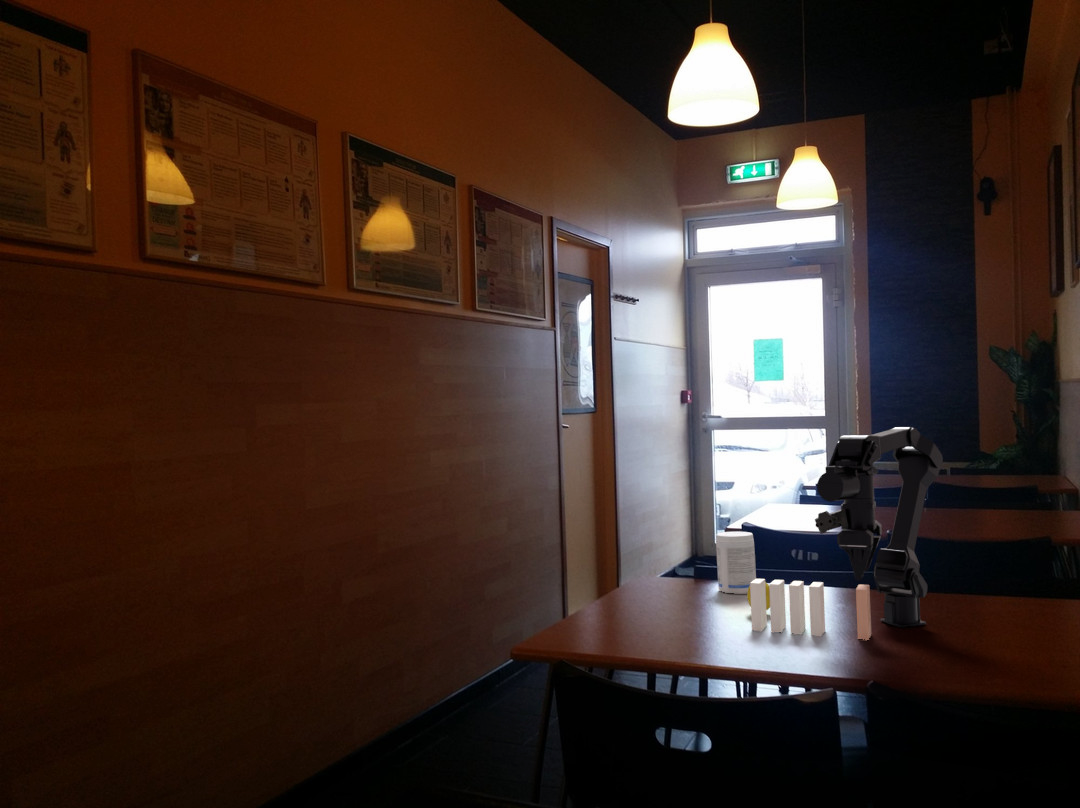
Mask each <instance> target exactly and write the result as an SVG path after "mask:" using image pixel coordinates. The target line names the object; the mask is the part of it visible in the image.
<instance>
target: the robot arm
mask: <svg viewBox="0 0 1080 808" xmlns="http://www.w3.org/2000/svg"><path fill="white" fill-rule="evenodd" d="M892 451H893V452H892ZM889 452H892V456H893V459H894V460H895V461H896V462H897V465H898V466H897V471H898V473H899V475H900V478H901V480H902V484H901V485H902V486H901V489H900V490H901V491H900V495H899V499H898V505H897V510H896V514H895V517H894V524H893V528H892V532H891V538H890V542H889V544H888V546H886V547H885V548H879V550H878V551H877V547H878V545H879V542H880V540H881V538H882V537H881V535H882V534H883V531H882V530H883V529H882V527H883V526H882V523H880V522H879V521H878V520H877V519H876V512H875V511H876V510H875V508H876V507H877V502H876V501H875V485H874V481H875V480H874V475H876V474H878V473H879V470H878V469H877V468H876V467H875V466H874V465H873V464H874V463H875V462H877V461H879V460H880V459H881V458H882V455H883V454H885V453H889ZM943 460H944V457H943V455H942V453H941V451H940V450H939V448H938V447H937V445H936V444H935V443H934V442H933V441H932V440H930V439H928V438H927V437H925V436H923V435H922V434H921V433H920V431H918V428H916V427H915V428H914V427H912V426H896V427H893V428H891V429H888V430H885V431H881V432H877V433H874V434H868V435H866V434H865V435H864V434H863V435H861V434H860V435H859V434H858V435H854V434H853V435H849V434H848V435H846V434H845V435H841V436H840V437H839V439H838V441H837V443H836V445H835V448H834V449H833V453H832V456H831V458H830V461H829V463H828V466H825V472H824V473H823V474H821V475H820V476H819V478H818V481H817V483H816V489H817V492H818V495H819V496H820V497H821V498H822V499H823V500H824V501H826V502H829V503H830V502H838V501H843V502H842V504H841V505H840V509H839V510H836V511H833V512H829V511H827V510H825V511H823V512H819V513H818V516H817V517H816V518H815V519H814V522H815V527H816V528H817V529H818V532H819V534H821V535H824V534H826V533H827V532H829V531H832V530H835V529H837V528H840V529H841V531H839V533H838V534H837V535H836V537H837V538H836V540H837V541H836V542H837V543H836V544H837V545H838V547H839V548H840V549H842V551H844V552H846V553H847V554H848V558H849V561H850V564H851V569H852V571H853V575H854V579H855V580H857V581H861V580H863V577H864V573H867V572H869V569H870V566H871V563H872V561H873V558H874V555H875V554H877V555H876V560H875V563H874V564H873V566H874V568H873V578H874V583H875V586H876V591H877V593H878V594H884V601H883V616H884V618H880V622H882V623H885V624H889V625H891V626H894V627H898V628H908V627H907V626H910V627H917V625H918V626H922V625H923V626H924V625H927V623H926V621H924V620H921V605H920V603H921V602H920V598H921V599H923V598H925V597H926V596H927V592H928V583H927V582H926V580H925V579H924V577H923V576H922V575H921V573H920V566H921V565H920V563H919V562H920V561H919V560H918V557H917V555H916V553H915V550H916V549H915V548H916V544H917V538H918V534H919V529H920V524H921V521H922V520H921V518H922V514H923V508H924V505H925V500H926V495H927V490H928V488H929V487H930V486H931V485H932V484H933V483H934V481H936V480H937V479H938V477H939V473H940V469H941V467H943V462H944V461H943ZM874 534H877V535H874ZM876 551H877V553H875V552H876Z"/></svg>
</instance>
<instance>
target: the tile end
mask: <svg viewBox="0 0 1080 808" xmlns="http://www.w3.org/2000/svg"><path fill="white" fill-rule="evenodd" d="M765 582H766V579H765V578H756V579H755V580H753V581H752V582H751V583H750V594H751V607H750V614H751V617H750V618H751V631H752V630H754V631H755V632H763V630H765V628H766V627H767V626H768V621H767V620H768V617H767V616H768V615H767V614H768V613H767V610H766V587H765ZM766 625H767V626H766ZM754 631H753V632H754Z"/></svg>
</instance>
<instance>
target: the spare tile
mask: <svg viewBox="0 0 1080 808" xmlns="http://www.w3.org/2000/svg"><path fill="white" fill-rule="evenodd" d="M870 590H871V589H870V585H869V584H858V585H857V587H856V588H855V596H856V597H855V598H856V599H855V602H856V624H857V625H856V626H857V640H858V639H863V640H862V641H867V640H869V641H870V639H869V638H871V636H872V618H871V594H870ZM864 639H865V640H864Z"/></svg>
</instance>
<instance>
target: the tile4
mask: <svg viewBox="0 0 1080 808" xmlns="http://www.w3.org/2000/svg"><path fill="white" fill-rule="evenodd" d="M768 585H769V589H770V608H769V611H770V612H769V614H770V632H771V631H772V632H771V633H774V632H781V633H783V631H784V630H785V629H786V628H787V619H786V618H787V617H786V597H785V596H786V593H785V580H784V579H774V580H772V581H771V582H770V583H768ZM785 627H786V628H785ZM784 628H785V629H784ZM783 629H784V630H783ZM782 630H783V631H782Z"/></svg>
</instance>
